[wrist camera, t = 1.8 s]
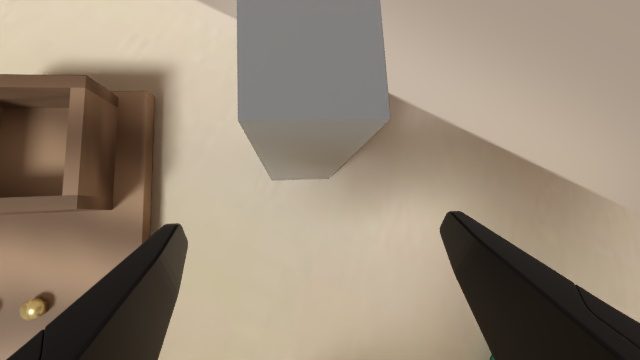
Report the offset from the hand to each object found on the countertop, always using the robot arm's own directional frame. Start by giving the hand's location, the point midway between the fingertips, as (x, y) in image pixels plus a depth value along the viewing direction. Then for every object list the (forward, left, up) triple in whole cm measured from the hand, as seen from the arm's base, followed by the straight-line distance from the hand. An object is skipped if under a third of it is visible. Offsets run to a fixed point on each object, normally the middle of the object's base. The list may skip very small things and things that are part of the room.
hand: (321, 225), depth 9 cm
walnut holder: (0, +17, -11) cm, 21 cm away
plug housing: (+5, 0, -11) cm, 13 cm away
